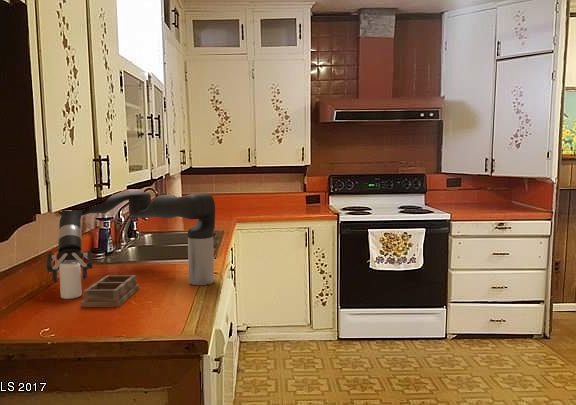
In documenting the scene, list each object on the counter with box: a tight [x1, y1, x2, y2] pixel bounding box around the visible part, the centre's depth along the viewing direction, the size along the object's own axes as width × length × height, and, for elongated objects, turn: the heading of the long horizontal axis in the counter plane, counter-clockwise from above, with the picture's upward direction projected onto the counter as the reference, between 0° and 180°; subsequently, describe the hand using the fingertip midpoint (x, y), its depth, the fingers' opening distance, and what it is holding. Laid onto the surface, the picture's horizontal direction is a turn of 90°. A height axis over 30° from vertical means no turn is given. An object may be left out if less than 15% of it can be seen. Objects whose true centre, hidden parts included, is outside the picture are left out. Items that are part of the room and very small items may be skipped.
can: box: [58, 260, 83, 300], centre depth 162 cm, size 6×6×12 cm
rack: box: [80, 274, 140, 308], centre depth 162 cm, size 21×12×5 cm, turn 1°
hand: (70, 279), depth 161 cm, fingers open, 8 cm apart
